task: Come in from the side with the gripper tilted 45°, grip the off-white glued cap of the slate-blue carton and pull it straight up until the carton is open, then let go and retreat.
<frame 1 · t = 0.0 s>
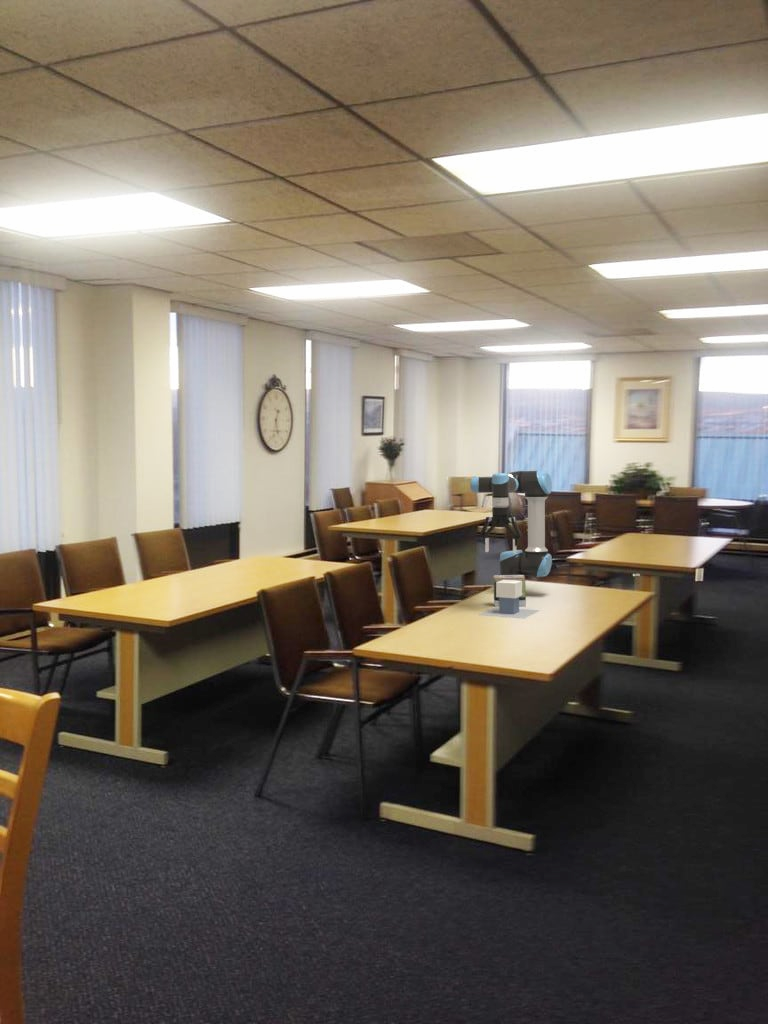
hand: (500, 552, 397), 28 cm above the table, tool pointing down, fingers open, 13 cm apart
cap: (509, 588, 394), point 12 cm above the table, slide at 0.0 cm
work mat: (509, 613, 395), on the table
carton: (509, 612, 395), resting on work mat
tea box: (509, 606, 415), on the table
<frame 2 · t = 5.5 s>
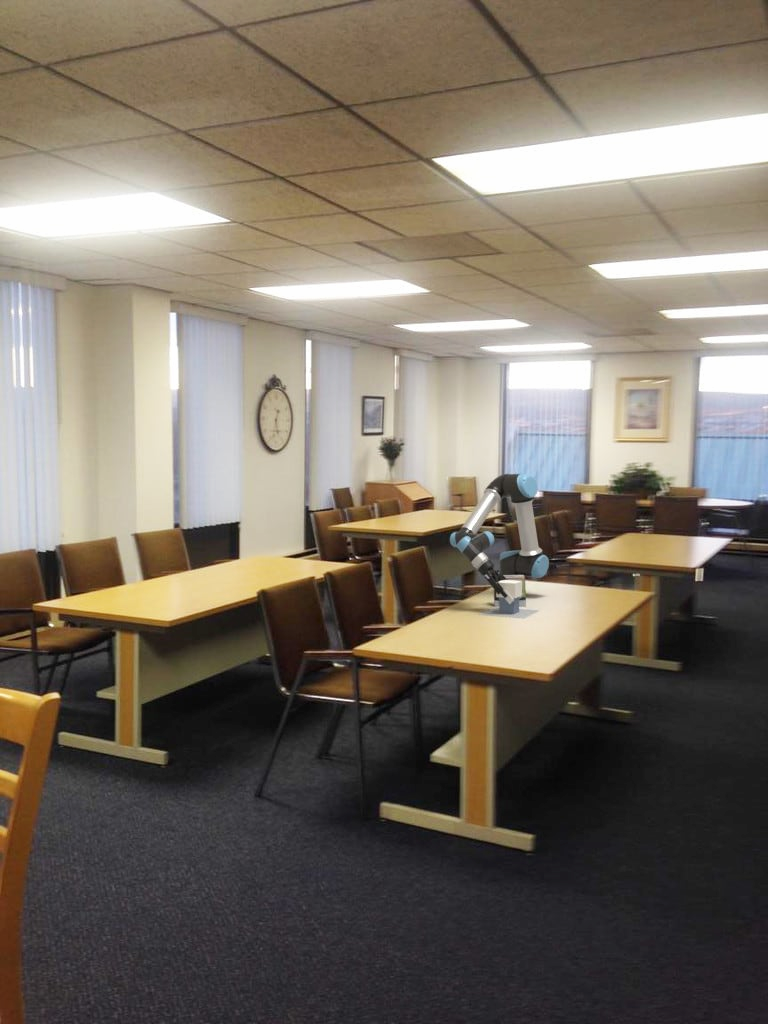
hand: (515, 600, 393), 6 cm above the table, tool tilted 45°, fingers closed on cap, 9 cm apart
cap: (509, 588, 394), point 11 cm above the table, slide at 0.0 cm, touching gripper
everything else where it was.
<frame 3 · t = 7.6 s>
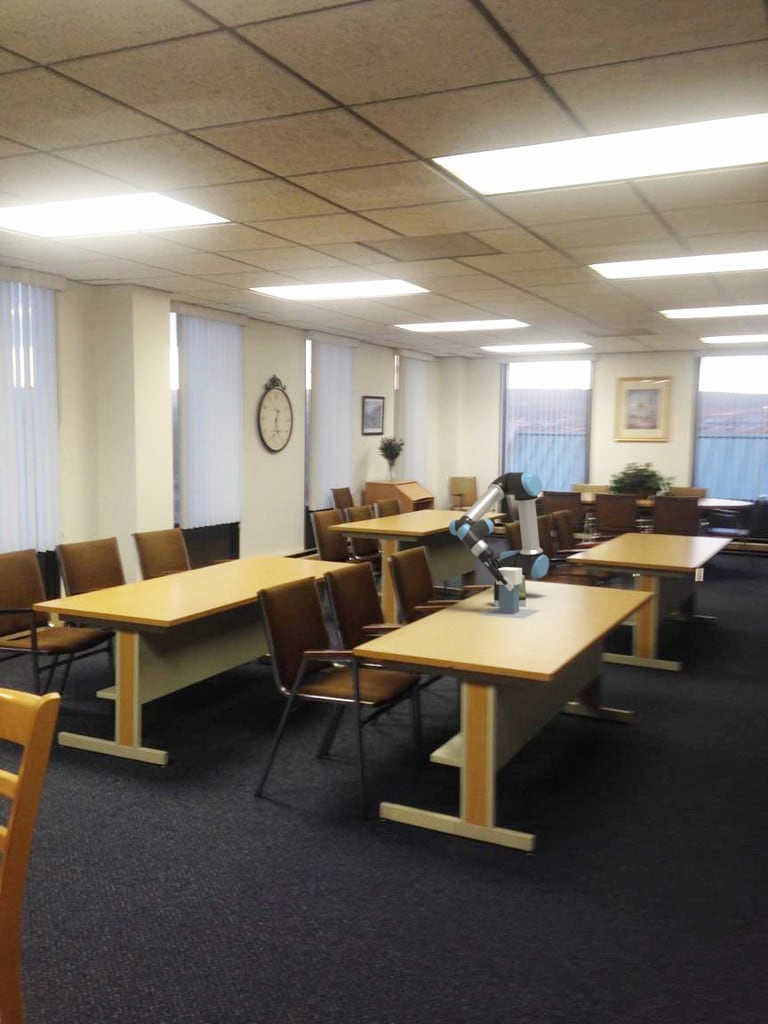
hand: (515, 587, 392), 12 cm above the table, tool tilted 45°, fingers closed on cap, 9 cm apart
cap: (509, 576, 394), point 17 cm above the table, slide at 6.0 cm, touching gripper
everything else where it was.
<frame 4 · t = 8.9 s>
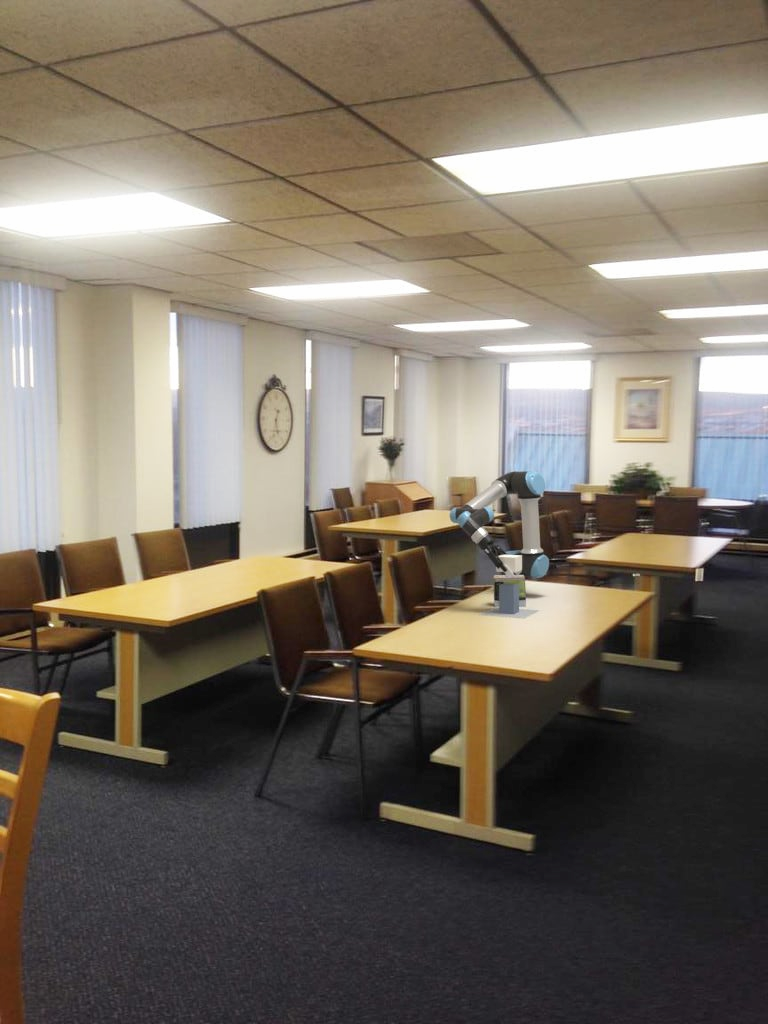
hand: (515, 574, 392), 18 cm above the table, tool tilted 45°, fingers closed on cap, 9 cm apart
cap: (509, 563, 393), point 23 cm above the table, slide at 11.8 cm, touching gripper
everything else where it was.
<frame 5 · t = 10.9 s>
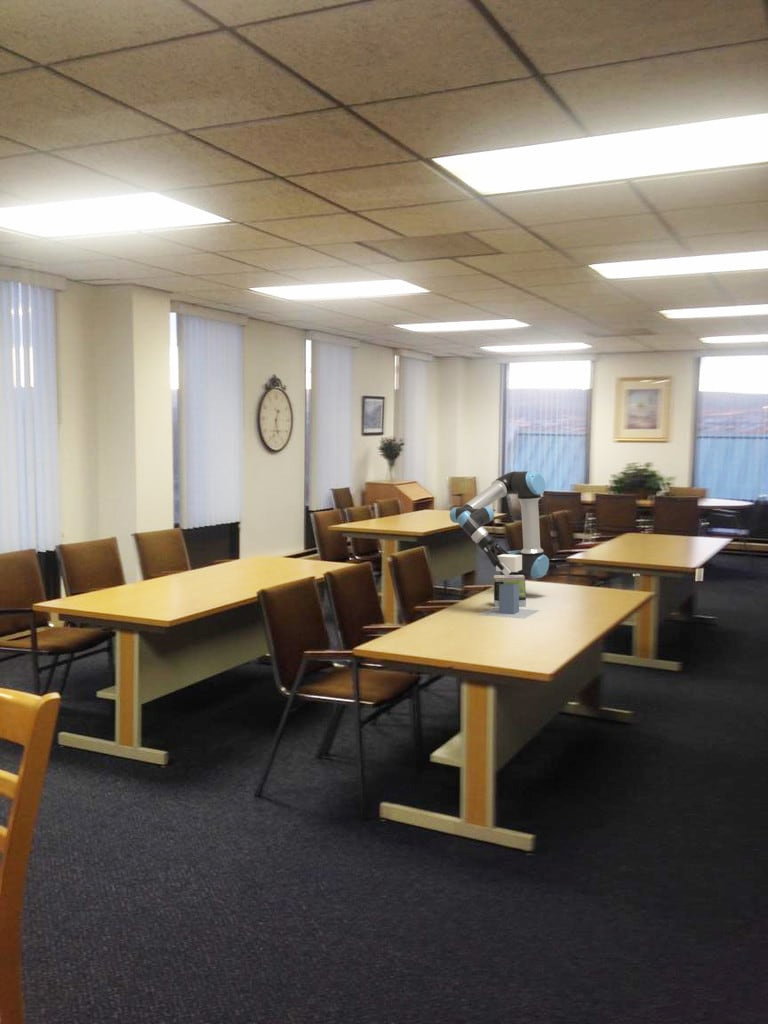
hand: (513, 572, 392), 19 cm above the table, tool tilted 45°, fingers open, 13 cm apart
cap: (509, 563, 393), point 24 cm above the table, slide at 12.0 cm
everything else where it was.
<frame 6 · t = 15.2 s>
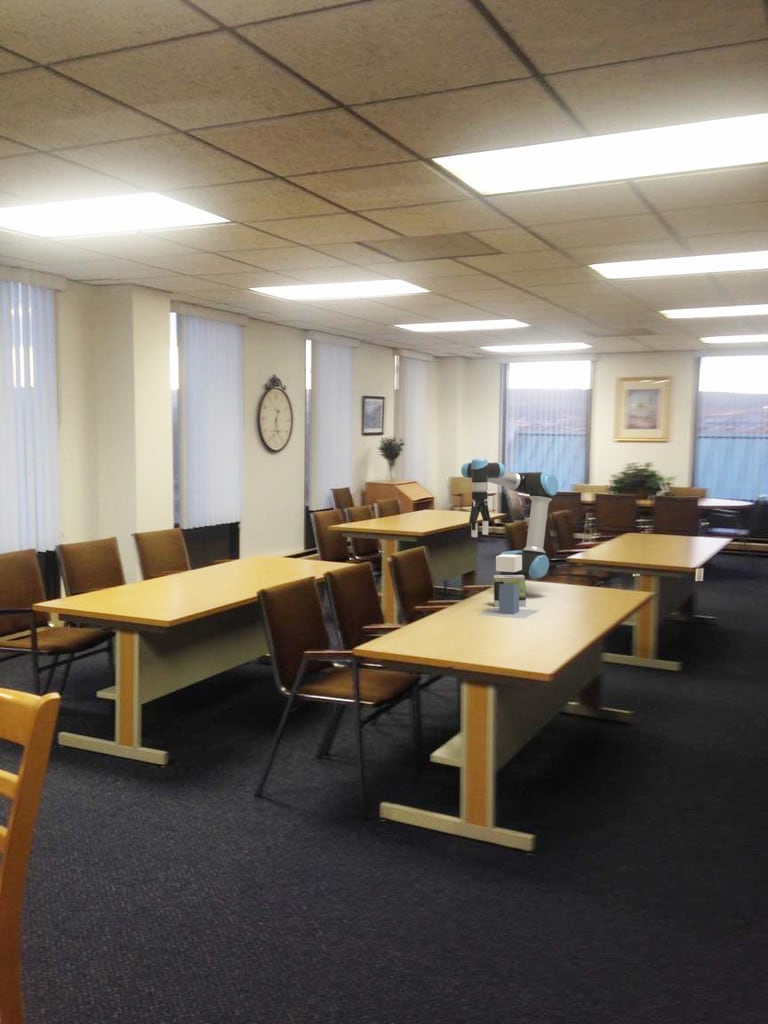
hand: (479, 535, 409), 35 cm above the table, tool pointing down, fingers open, 13 cm apart
nothing on the table moved.
at the end: cap slide at 12.0 cm; the gripper is holding nothing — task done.
